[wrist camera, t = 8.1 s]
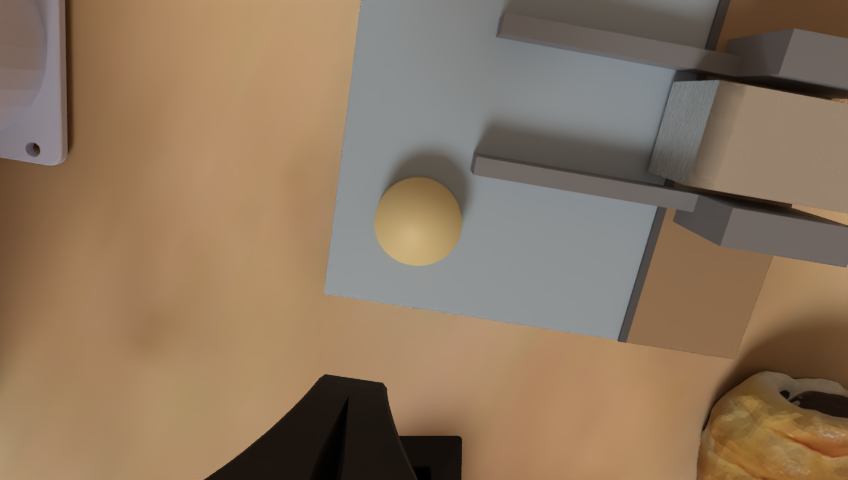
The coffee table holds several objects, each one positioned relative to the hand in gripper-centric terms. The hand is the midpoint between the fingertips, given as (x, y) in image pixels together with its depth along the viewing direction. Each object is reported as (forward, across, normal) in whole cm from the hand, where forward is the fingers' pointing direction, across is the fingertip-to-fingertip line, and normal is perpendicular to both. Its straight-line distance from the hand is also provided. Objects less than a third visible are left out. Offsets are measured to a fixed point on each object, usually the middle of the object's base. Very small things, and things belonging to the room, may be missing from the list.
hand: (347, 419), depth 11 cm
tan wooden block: (+8, -12, -7) cm, 16 cm away
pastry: (+10, -18, +6) cm, 22 cm away
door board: (+10, -6, -7) cm, 14 cm away
